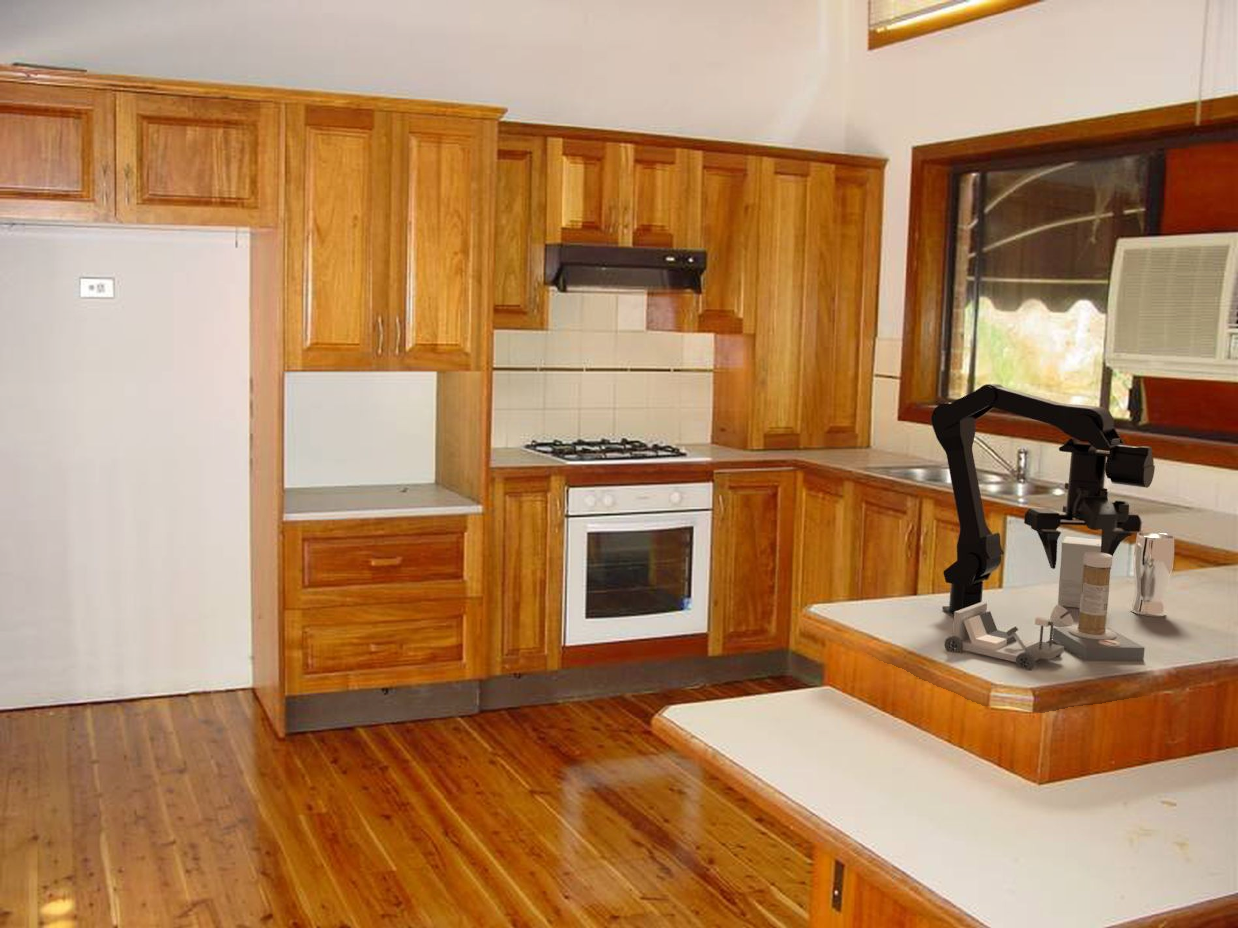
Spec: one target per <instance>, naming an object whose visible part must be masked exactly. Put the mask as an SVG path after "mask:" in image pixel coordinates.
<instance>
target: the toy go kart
mask: <svg viewBox="0 0 1238 928" xmlns="http://www.w3.org/2000/svg"><path fill="white" fill-rule="evenodd" d="M987 609H988V603H987V602H984V601H982V602H980V603H977V604H975V605H972V606H969V607H966V608H964V609H961V610H958V611H955V612H954V617H953V624H952V635H951V636H948V637H947V638H946V639H945V640H944V645H943V647H944V649H945V650H946V651H947V652H950V653H955V654H959V653H962V651H966V652H970V653H975V654H979V655H985V656H988V657H992V658H997V659H1001V660H1006V661H1010V662H1014V663H1015V664H1016V668H1019V669H1022V670H1027V671H1032V670H1034V669H1035V667H1036V661H1038V660H1040V659H1044V660H1051V659H1053V658H1059V657H1061V656H1062V654H1063V653H1064V652H1065V647H1064V646H1062V645H1061V644H1060V643H1059V642H1058V641H1056V640H1052V638H1053V627H1056V628H1068V627H1072V626H1073V625H1074V619H1073V617H1072V615H1071V614H1070V613H1071V612H1072V609H1068V610H1067V609H1066V607H1064V606H1060V605H1058V604H1056V605H1055V606H1054V607H1053V610H1052V612H1051V614H1050V619H1049V618H1043V617H1038V616H1037V617H1035V619H1034V625H1037V626H1040V630H1039V631H1040V633H1039V641H1038V642H1033V641H1028V640H1023V639H1021V638H1020V636H1018V634H1017V633H1016V632H1018V631H1019V628H1018V627H1017V626H1014V627H1012V628H1011V629H1008V631H1007V632H1006V631H1003V630H998V627H997V625H996V623H995V620H994V618H993V614H992V613H991V610H989V611H987ZM1044 627H1046V628H1048V627H1050V630H1049V640H1048V641H1046V642H1045V641H1043V637H1044V636H1043V634H1044Z"/></svg>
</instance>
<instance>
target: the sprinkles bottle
mask: <svg viewBox="0 0 1238 928" xmlns="http://www.w3.org/2000/svg"><path fill="white" fill-rule="evenodd" d="M1083 564H1084V570H1083V580H1082V591H1081V598H1080V608H1078V609H1079V615H1078V616H1079V617H1078V624H1077V626H1078V630H1079V631H1082V632H1085V633H1089V634H1103V633H1105V632H1106V629H1105V628H1106V622H1107V614H1108V608H1109V607H1108V605H1109V597H1110V596H1109V594H1110V579H1111V569H1112V567H1113V556H1112V555H1110V554H1107V553H1102V552H1086V553H1084V557H1083Z"/></svg>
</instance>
